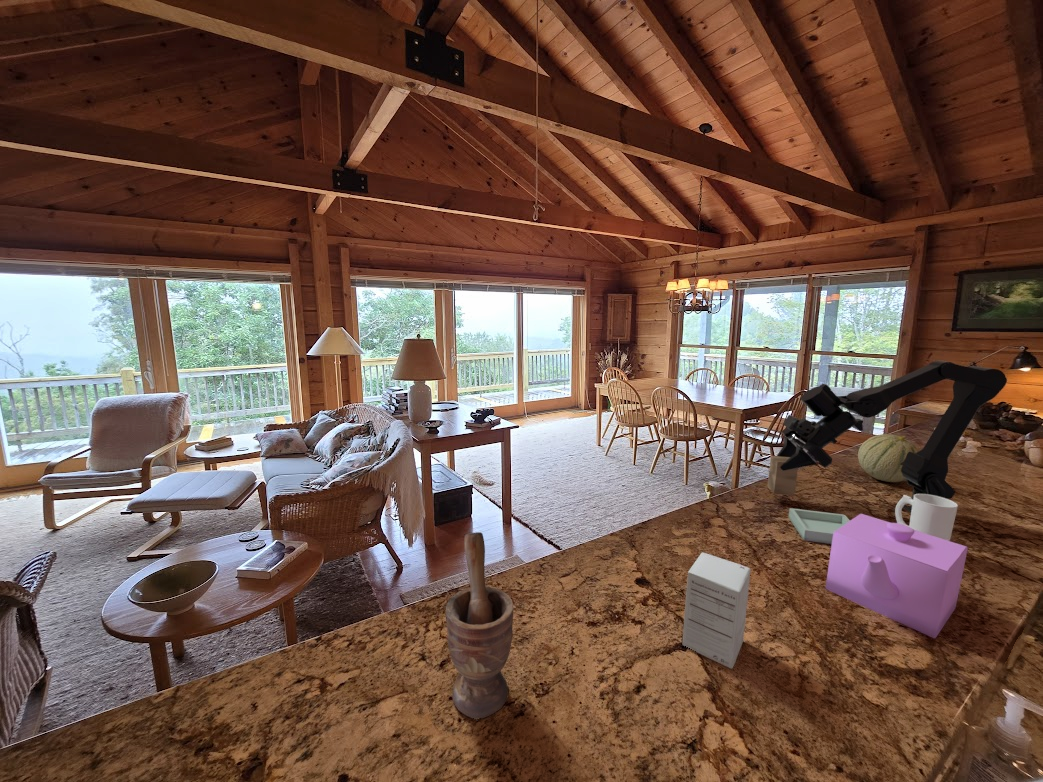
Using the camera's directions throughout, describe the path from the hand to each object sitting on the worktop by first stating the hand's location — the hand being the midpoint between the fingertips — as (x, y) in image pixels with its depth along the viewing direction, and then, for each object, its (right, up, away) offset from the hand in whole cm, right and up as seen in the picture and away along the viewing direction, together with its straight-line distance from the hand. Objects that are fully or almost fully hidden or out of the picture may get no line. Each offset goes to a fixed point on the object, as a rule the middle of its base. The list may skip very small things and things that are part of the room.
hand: (777, 465), depth 116 cm
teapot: (-4, -18, -39) cm, 43 cm away
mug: (+17, -15, -22) cm, 32 cm away
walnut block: (+1, -7, +1) cm, 7 cm away
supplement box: (-40, -19, -50) cm, 67 cm away
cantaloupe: (+44, -8, +17) cm, 48 cm away
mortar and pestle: (-76, -20, -58) cm, 97 cm away
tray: (+2, -13, -15) cm, 20 cm away
